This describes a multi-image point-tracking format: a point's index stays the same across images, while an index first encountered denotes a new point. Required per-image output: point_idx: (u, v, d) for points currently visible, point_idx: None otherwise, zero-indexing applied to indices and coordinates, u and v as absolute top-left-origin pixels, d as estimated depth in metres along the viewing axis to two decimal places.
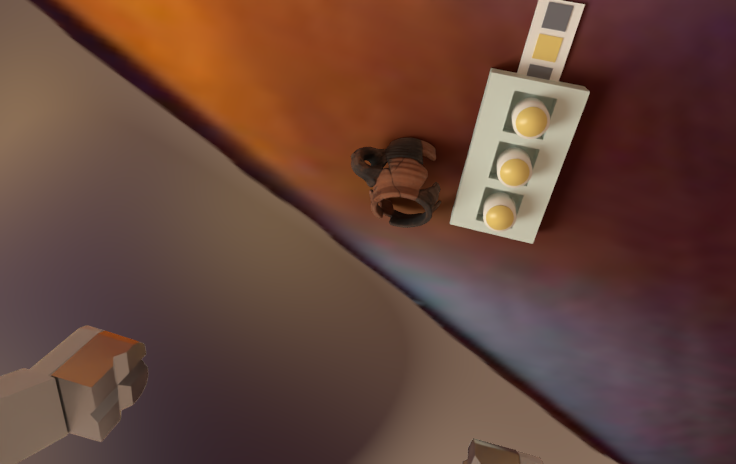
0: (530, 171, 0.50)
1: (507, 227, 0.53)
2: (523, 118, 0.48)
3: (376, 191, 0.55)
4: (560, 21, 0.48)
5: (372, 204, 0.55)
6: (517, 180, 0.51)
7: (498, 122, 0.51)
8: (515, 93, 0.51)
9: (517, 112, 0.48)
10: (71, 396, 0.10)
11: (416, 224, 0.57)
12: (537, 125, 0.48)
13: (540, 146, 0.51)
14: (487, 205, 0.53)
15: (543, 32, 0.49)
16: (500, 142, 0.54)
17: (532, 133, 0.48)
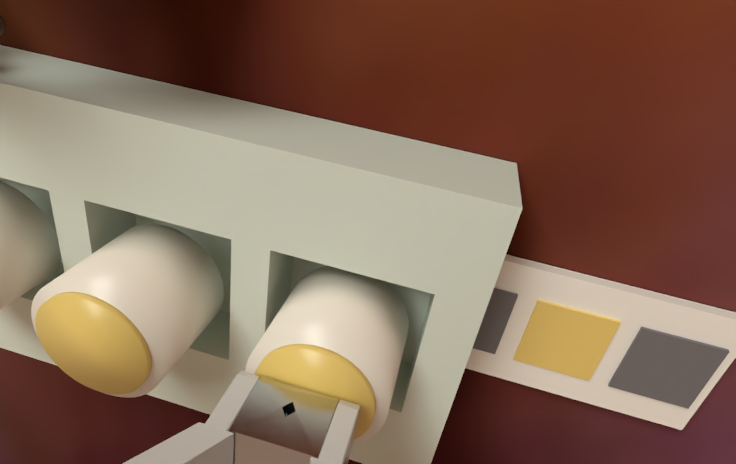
0: None
1: None
2: (324, 376, 0.11)
3: None
4: (646, 375, 0.15)
5: None
6: (66, 354, 0.12)
7: (302, 236, 0.12)
8: None
9: (348, 352, 0.11)
10: (247, 451, 0.10)
11: None
12: None
13: (239, 362, 0.15)
14: None
15: (623, 330, 0.14)
16: None
17: None
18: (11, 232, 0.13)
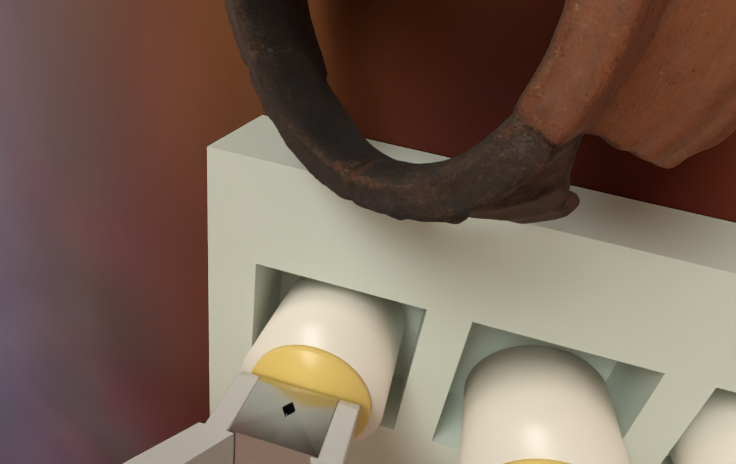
0: None
1: None
2: None
3: None
4: None
5: None
6: None
7: None
8: None
9: None
10: (247, 451, 0.10)
11: (263, 80, 0.08)
12: None
13: None
14: (358, 336, 0.11)
15: None
16: None
17: None
18: (391, 329, 0.12)
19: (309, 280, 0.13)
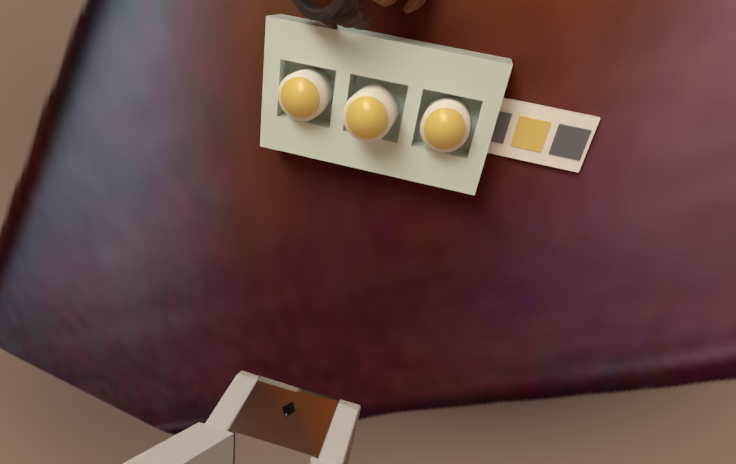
0: (369, 139, 0.34)
1: (287, 110, 0.36)
2: (450, 118, 0.34)
3: None
4: (563, 147, 0.37)
5: None
6: (354, 123, 0.34)
7: (436, 81, 0.34)
8: (473, 99, 0.36)
9: (458, 108, 0.34)
10: (246, 451, 0.10)
11: None
12: (439, 136, 0.35)
13: (401, 143, 0.37)
14: (315, 76, 0.35)
15: (552, 126, 0.36)
16: (402, 84, 0.37)
17: (428, 132, 0.35)
18: (327, 83, 0.37)
19: (300, 69, 0.37)
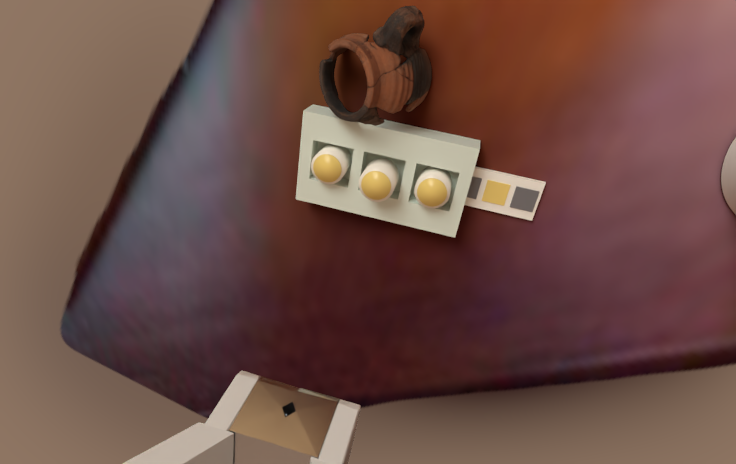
0: (378, 200, 0.48)
1: (317, 176, 0.50)
2: (435, 185, 0.47)
3: (369, 49, 0.41)
4: (519, 202, 0.50)
5: (350, 43, 0.41)
6: (367, 188, 0.47)
7: (426, 158, 0.48)
8: None
9: (441, 179, 0.47)
10: (246, 451, 0.10)
11: (327, 97, 0.46)
12: (428, 197, 0.48)
13: (401, 200, 0.50)
14: (338, 153, 0.49)
15: (511, 188, 0.50)
16: None
17: (420, 194, 0.48)
18: (347, 156, 0.50)
19: (326, 145, 0.50)
